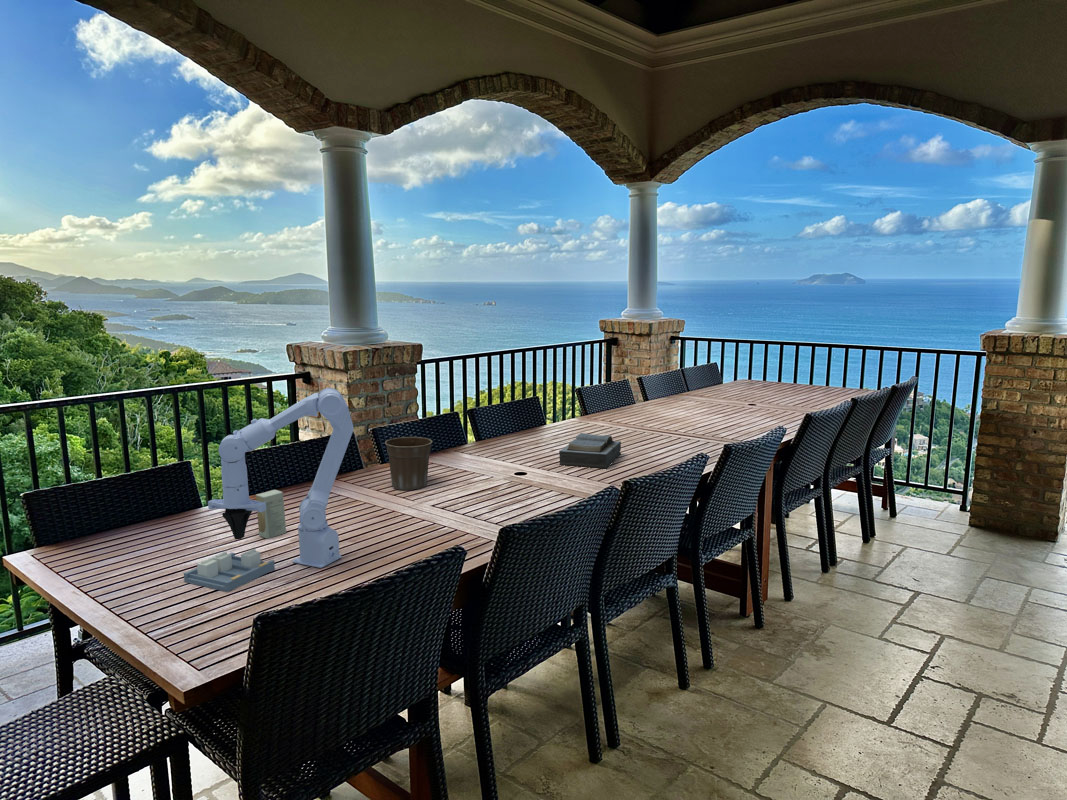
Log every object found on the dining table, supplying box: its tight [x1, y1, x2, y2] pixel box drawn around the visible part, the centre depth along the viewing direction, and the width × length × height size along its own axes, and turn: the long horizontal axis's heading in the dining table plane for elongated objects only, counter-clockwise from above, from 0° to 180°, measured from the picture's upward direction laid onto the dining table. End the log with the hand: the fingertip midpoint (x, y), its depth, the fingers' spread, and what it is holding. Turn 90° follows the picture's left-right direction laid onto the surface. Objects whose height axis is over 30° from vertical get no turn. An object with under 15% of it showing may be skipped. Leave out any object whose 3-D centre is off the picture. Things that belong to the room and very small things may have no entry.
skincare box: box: [255, 489, 287, 540], centre depth 197 cm, size 6×4×12 cm
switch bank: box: [183, 552, 275, 593], centre depth 169 cm, size 14×14×2 cm
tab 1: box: [196, 557, 218, 578], centre depth 166 cm, size 3×3×4 cm
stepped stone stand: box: [558, 432, 622, 470], centre depth 281 cm, size 23×27×10 cm
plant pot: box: [384, 436, 433, 492], centre depth 245 cm, size 16×16×16 cm
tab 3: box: [240, 548, 262, 568], centre depth 172 cm, size 3×3×4 cm
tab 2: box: [211, 551, 232, 572], centre depth 170 cm, size 3×3×4 cm
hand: (239, 538), depth 172 cm, fingers closed
